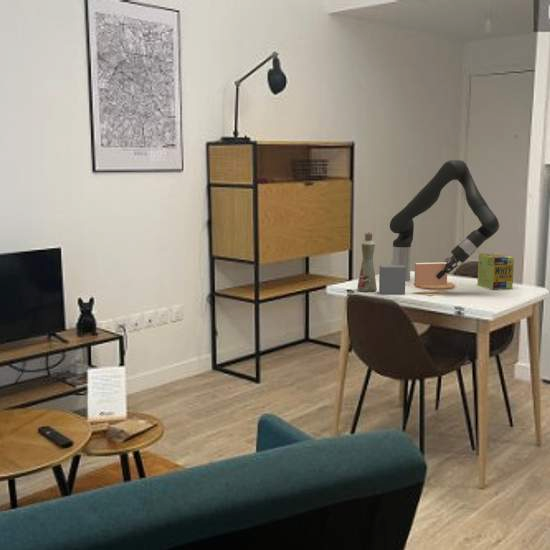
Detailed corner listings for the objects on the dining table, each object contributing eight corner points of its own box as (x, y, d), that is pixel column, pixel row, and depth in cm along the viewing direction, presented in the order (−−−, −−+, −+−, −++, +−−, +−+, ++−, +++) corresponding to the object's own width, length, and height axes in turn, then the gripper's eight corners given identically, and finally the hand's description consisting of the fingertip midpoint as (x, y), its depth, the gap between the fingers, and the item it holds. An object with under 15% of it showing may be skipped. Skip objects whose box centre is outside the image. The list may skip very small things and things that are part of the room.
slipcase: (380, 295, 308) (381, 267, 306) (379, 292, 315) (379, 265, 313) (405, 295, 308) (405, 267, 306) (402, 292, 314) (403, 265, 312)
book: (416, 285, 309) (416, 264, 307) (414, 284, 312) (414, 263, 310) (446, 285, 308) (447, 263, 307) (445, 283, 312) (445, 262, 310)
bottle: (375, 293, 313) (377, 233, 308) (356, 292, 315) (357, 232, 311) (377, 290, 321) (378, 231, 317) (358, 289, 323) (359, 231, 319)
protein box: (492, 290, 319) (494, 257, 317) (477, 284, 334) (478, 253, 332) (513, 289, 321) (514, 257, 319) (496, 284, 336) (497, 253, 334)
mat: (414, 293, 313) (414, 292, 313) (431, 291, 317) (431, 290, 317) (429, 296, 304) (429, 295, 304) (445, 294, 309) (446, 293, 309)
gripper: (454, 242, 314) (427, 269, 316) (462, 246, 300) (434, 273, 302) (465, 254, 315) (438, 280, 317) (473, 258, 301) (445, 285, 303)
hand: (436, 276), depth 309 cm, fingers closed on book, 3 cm apart
